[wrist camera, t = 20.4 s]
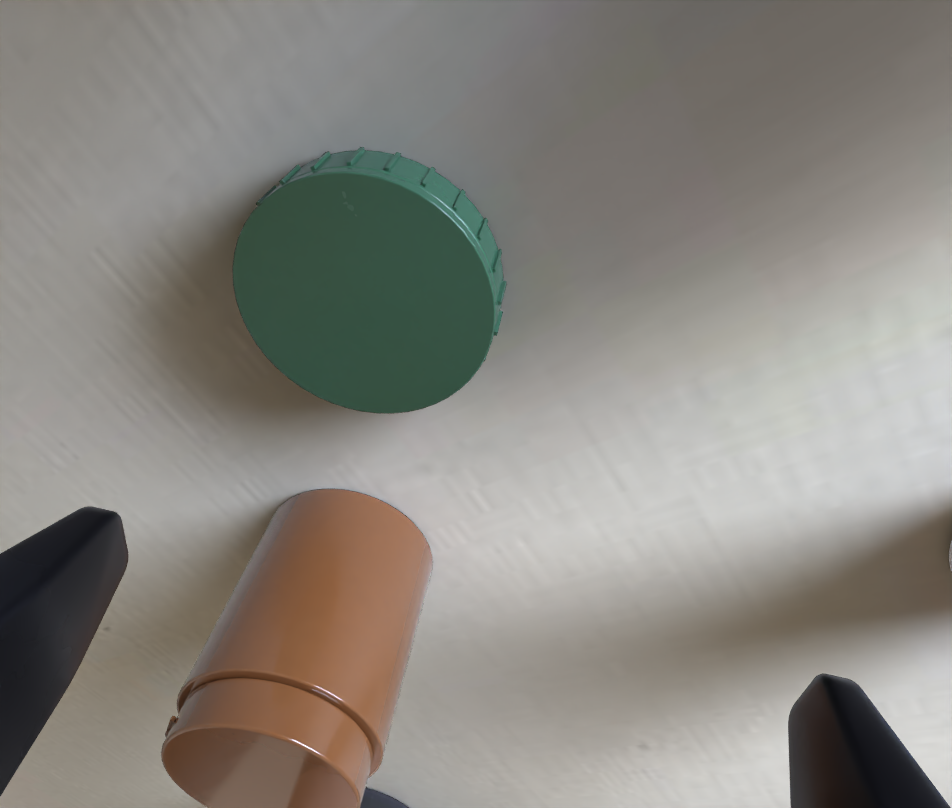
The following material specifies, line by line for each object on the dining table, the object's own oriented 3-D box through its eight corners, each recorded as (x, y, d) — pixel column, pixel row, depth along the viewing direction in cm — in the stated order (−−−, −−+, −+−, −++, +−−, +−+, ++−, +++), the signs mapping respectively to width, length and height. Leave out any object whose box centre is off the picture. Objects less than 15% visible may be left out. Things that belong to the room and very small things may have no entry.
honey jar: (241, 545, 27) (117, 768, 20) (324, 459, 24) (210, 690, 17) (372, 626, 29) (298, 857, 22) (467, 555, 26) (413, 801, 19)
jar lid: (521, 376, 21) (514, 410, 19) (299, 387, 22) (279, 420, 21) (483, 130, 17) (472, 152, 16) (218, 164, 18) (188, 186, 17)
